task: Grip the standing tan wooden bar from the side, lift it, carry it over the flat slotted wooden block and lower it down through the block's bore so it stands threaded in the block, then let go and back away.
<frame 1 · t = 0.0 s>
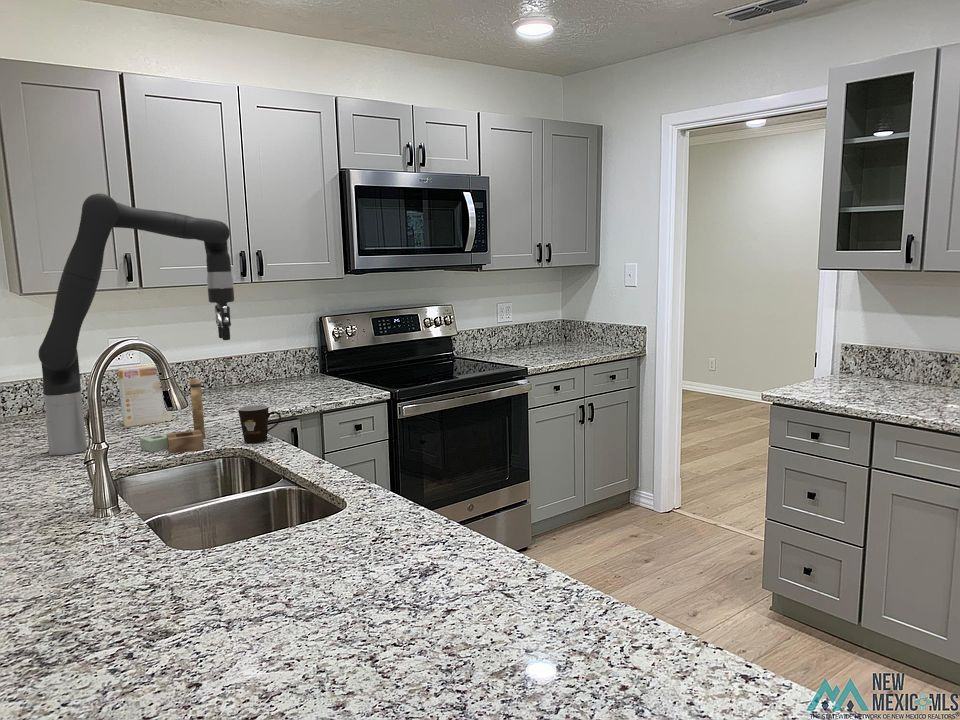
hand: (224, 339, 223), 29 cm above the counter, tool pointing down, fingers open, 8 cm apart
coffee mug: (259, 442, 211), on the counter
coffeecake box: (148, 423, 245), on the counter
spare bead: (158, 448, 207), on the counter
slotted wooden block: (185, 448, 206), on the counter
tan wooden bar: (200, 438, 218), on the counter
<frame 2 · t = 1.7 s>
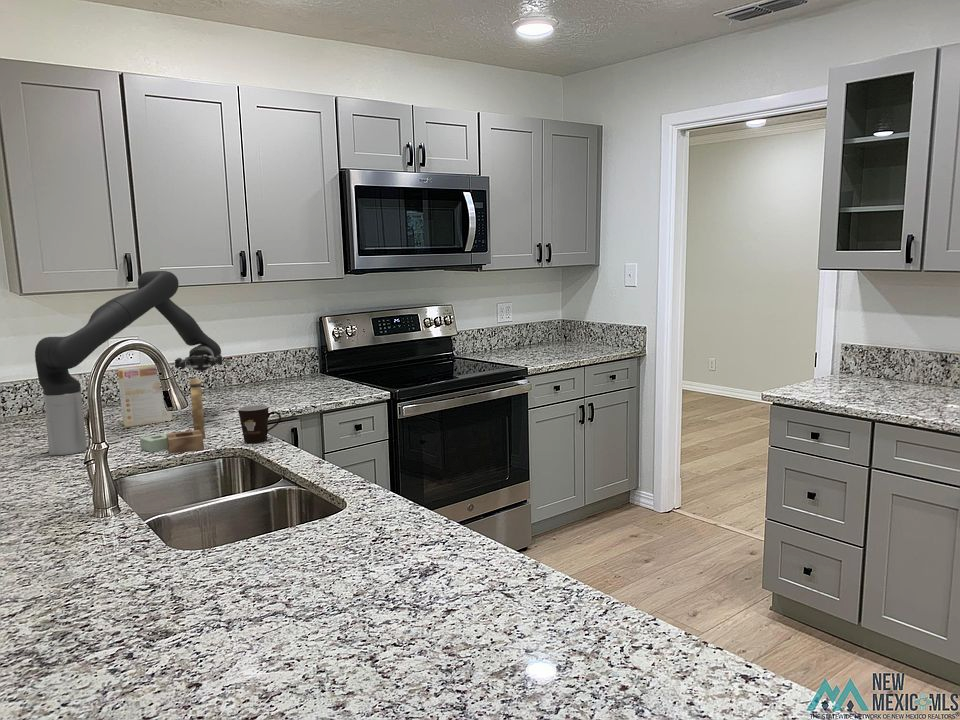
hand: (197, 364, 225), 21 cm above the counter, tool horizontal, fingers open, 8 cm apart
nothing on the counter moved.
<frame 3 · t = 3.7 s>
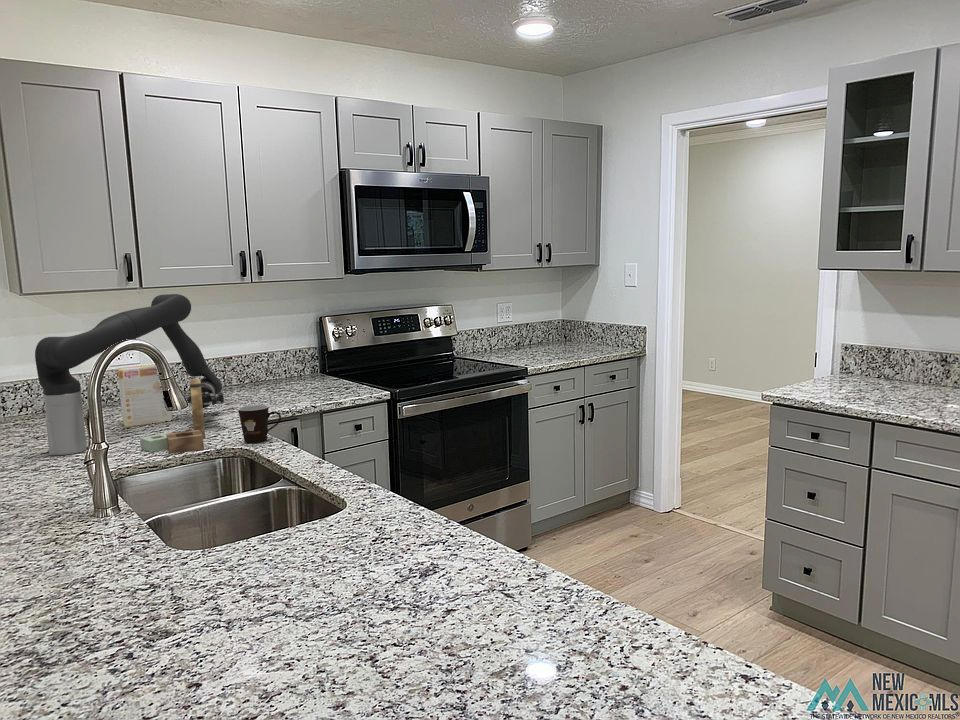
hand: (198, 403, 222), 10 cm above the counter, tool horizontal, fingers open, 8 cm apart
nothing on the counter moved.
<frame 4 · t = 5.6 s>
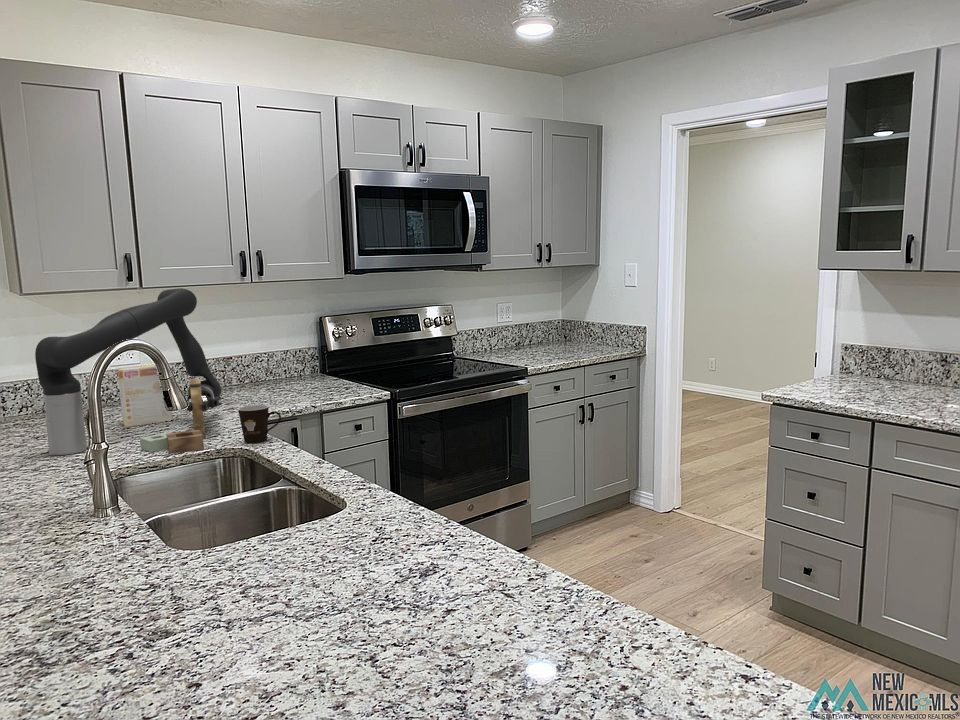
hand: (196, 407, 214), 10 cm above the counter, tool horizontal, fingers closed on tan wooden bar, 3 cm apart
tan wooden bar: (200, 438, 218), on the counter, touching gripper
everything else where it was.
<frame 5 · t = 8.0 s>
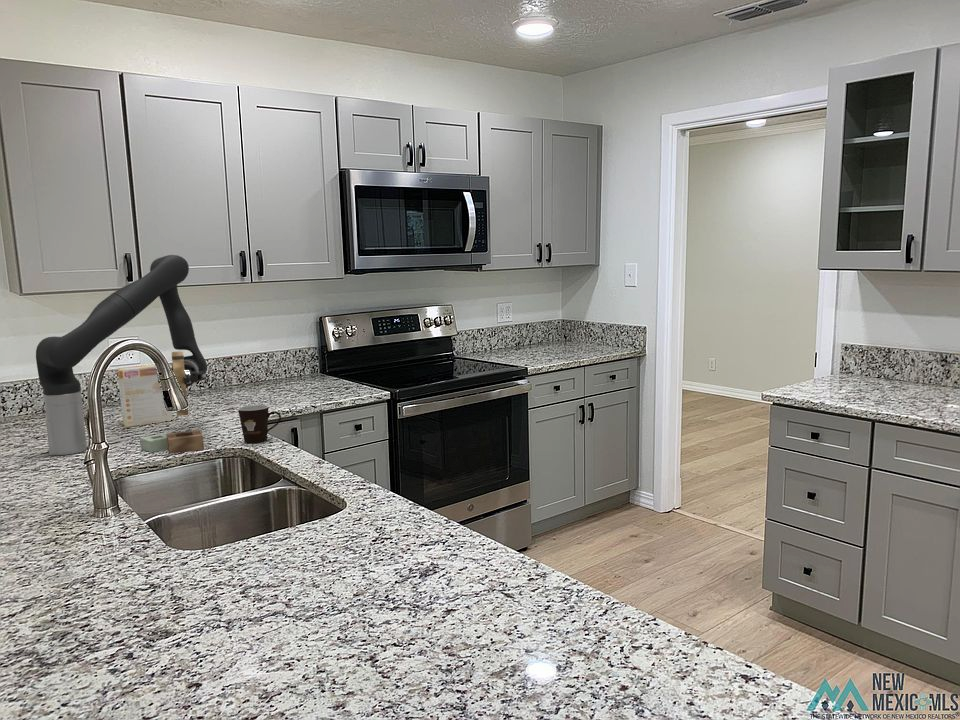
hand: (178, 381, 200), 20 cm above the counter, tool horizontal, fingers closed on tan wooden bar, 3 cm apart
tan wooden bar: (182, 414, 204), point 10 cm above the counter, touching gripper
everything else where it was.
when the fingers open (11 cm above the counter, at t = 10.4 s): tan wooden bar stays where it is, resting in slotted wooden block.
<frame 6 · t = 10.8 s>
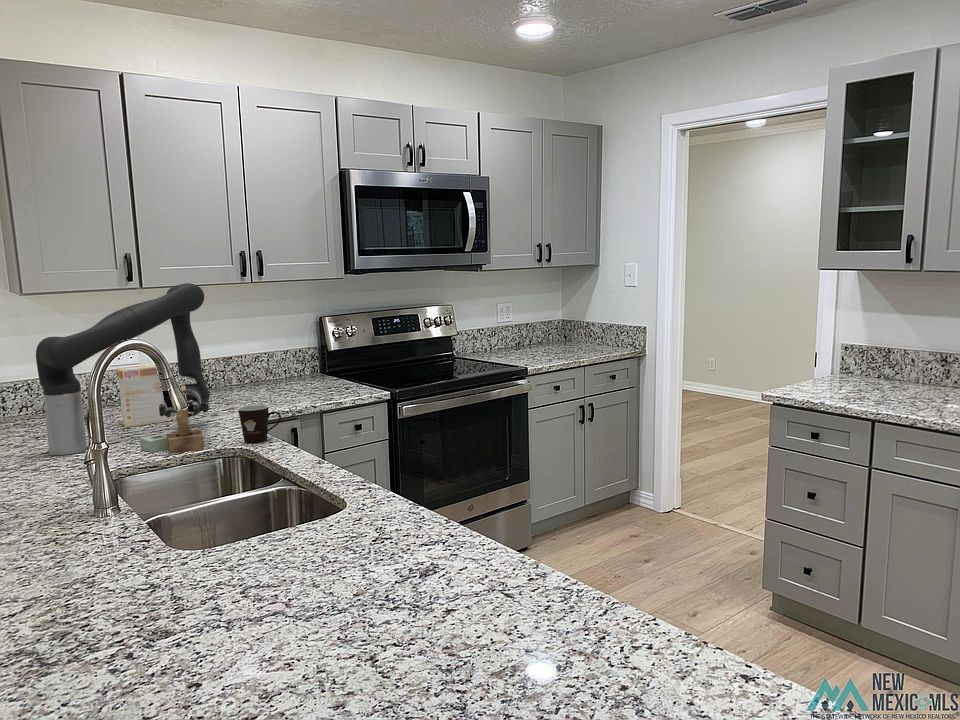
hand: (181, 412, 202), 11 cm above the counter, tool horizontal, fingers open, 6 cm apart
tan wooden bar: (185, 448, 206), resting in slotted wooden block
everything else where it was.
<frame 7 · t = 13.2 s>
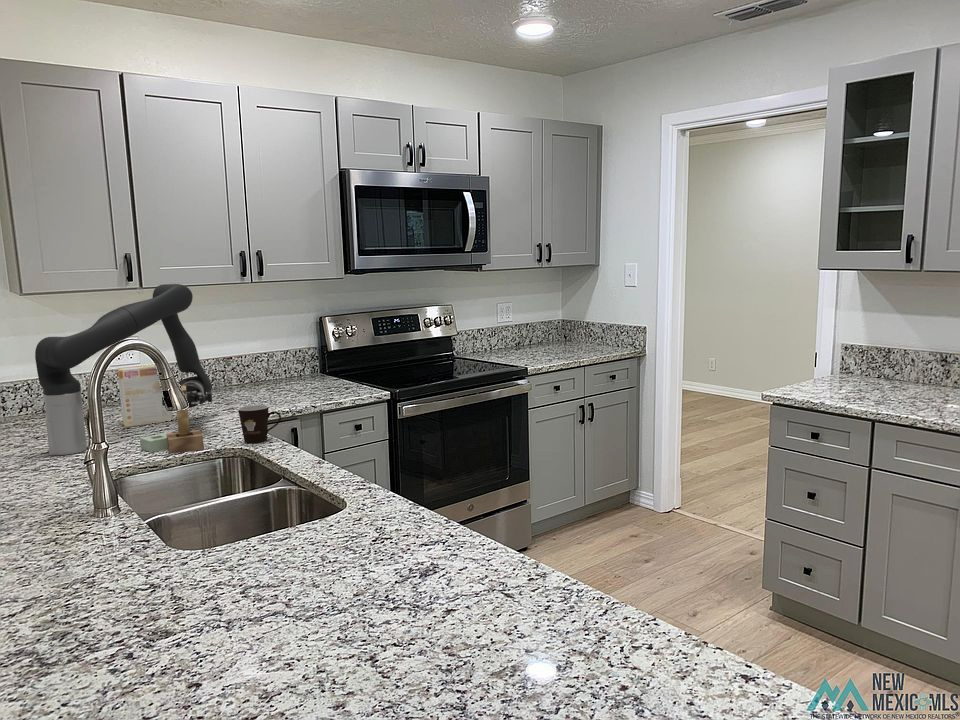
hand: (185, 402, 215), 12 cm above the counter, tool horizontal, fingers open, 8 cm apart
nothing on the counter moved.
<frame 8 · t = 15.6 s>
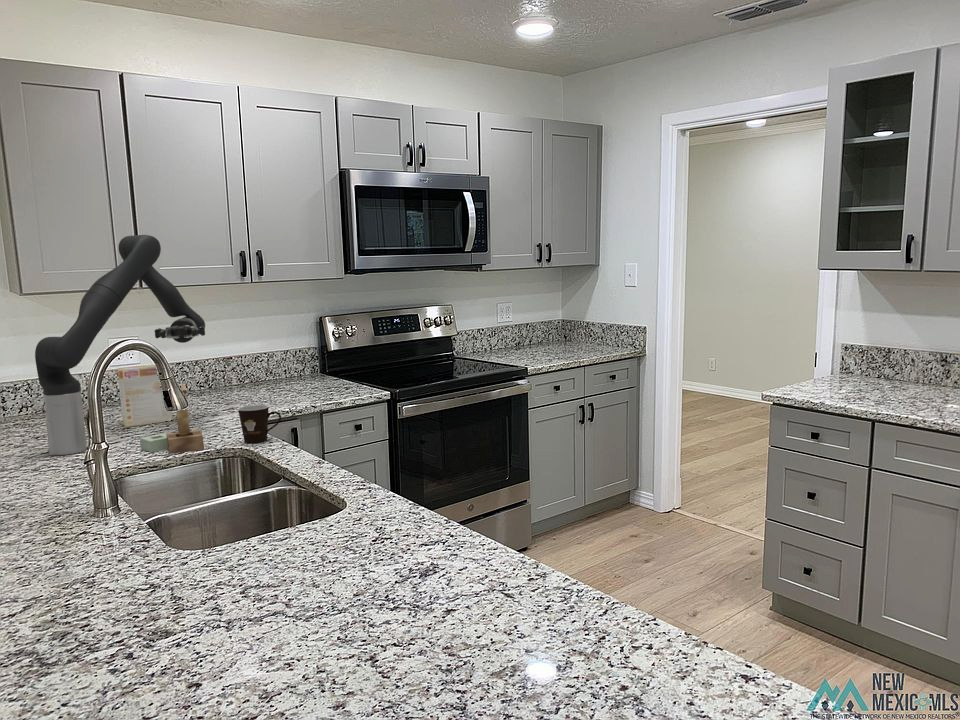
hand: (178, 333, 215), 32 cm above the counter, tool horizontal, fingers open, 8 cm apart
nothing on the counter moved.
at the end: tan wooden bar 0.1 cm off-centre on the slotted wooden block, point 0.0 cm above the slotted wooden block's base; tan wooden bar tilted 0°; the gripper is holding nothing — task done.
